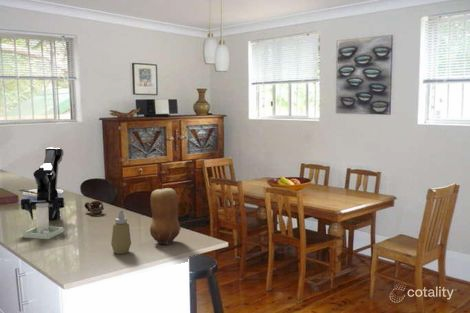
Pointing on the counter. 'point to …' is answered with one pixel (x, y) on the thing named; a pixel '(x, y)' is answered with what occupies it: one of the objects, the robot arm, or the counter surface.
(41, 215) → the cylinder
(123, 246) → the squeeze bottle
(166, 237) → the butternut squash
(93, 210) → the pottery mug
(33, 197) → the ramen bowl
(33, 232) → the tray
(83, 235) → the counter surface
